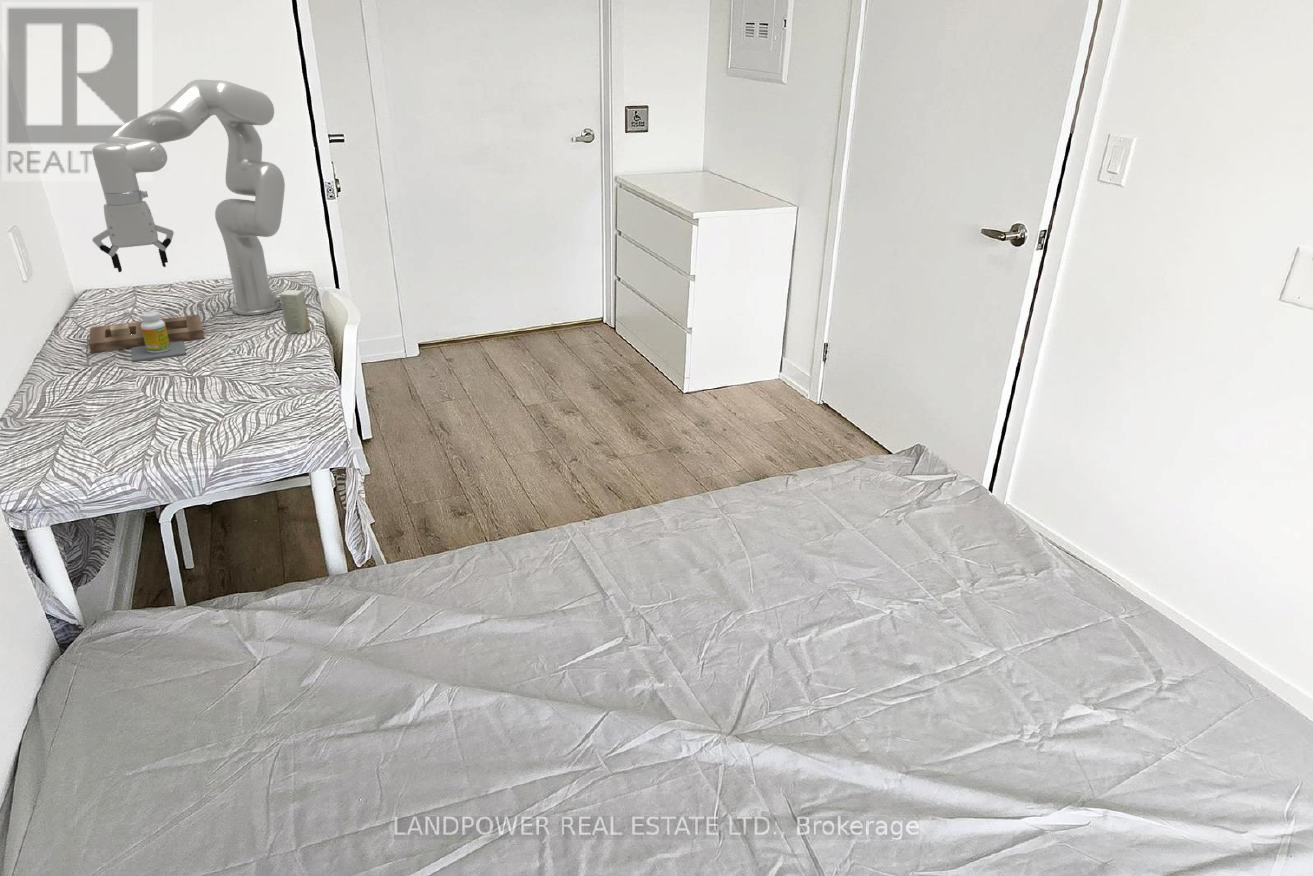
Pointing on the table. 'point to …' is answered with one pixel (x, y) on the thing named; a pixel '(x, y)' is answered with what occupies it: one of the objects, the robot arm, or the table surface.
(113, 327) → the maple block
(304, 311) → the box
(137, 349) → the rubber mat
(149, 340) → the supplement bottle
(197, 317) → the puzzle board
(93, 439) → the table surface
